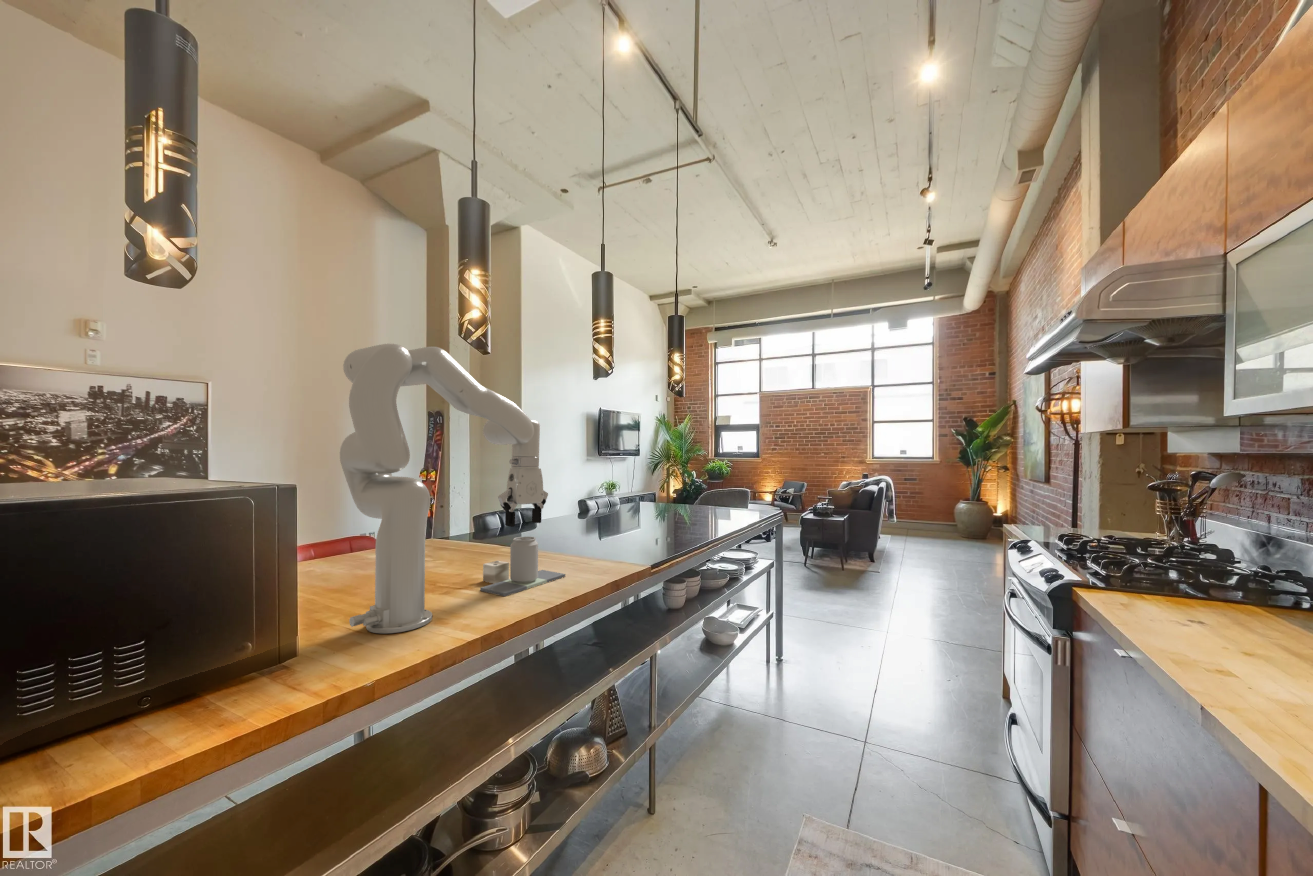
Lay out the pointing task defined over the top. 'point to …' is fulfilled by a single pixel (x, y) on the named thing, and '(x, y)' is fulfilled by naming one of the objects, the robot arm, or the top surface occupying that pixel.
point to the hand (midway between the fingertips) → (523, 524)
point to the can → (524, 560)
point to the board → (511, 587)
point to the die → (495, 572)
